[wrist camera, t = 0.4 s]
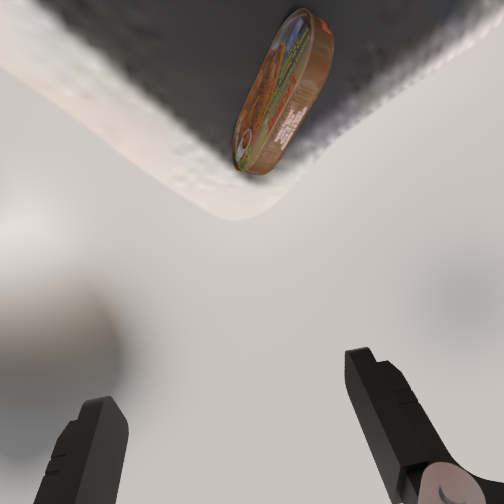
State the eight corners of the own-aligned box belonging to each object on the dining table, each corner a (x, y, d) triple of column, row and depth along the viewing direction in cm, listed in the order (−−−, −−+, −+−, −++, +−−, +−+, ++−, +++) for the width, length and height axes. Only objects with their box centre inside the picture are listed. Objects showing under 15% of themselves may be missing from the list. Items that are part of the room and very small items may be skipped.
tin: (294, -7, 29) (318, 26, 23) (323, 11, 30) (353, 46, 25) (226, 140, 38) (233, 186, 33) (250, 148, 40) (261, 194, 34)
